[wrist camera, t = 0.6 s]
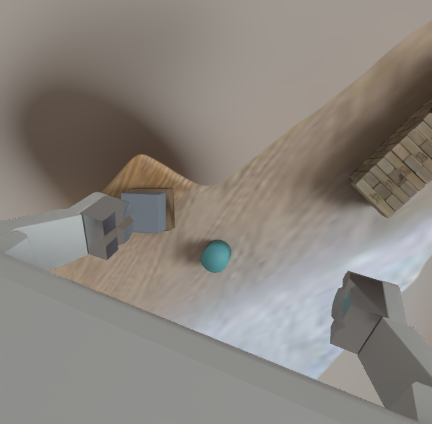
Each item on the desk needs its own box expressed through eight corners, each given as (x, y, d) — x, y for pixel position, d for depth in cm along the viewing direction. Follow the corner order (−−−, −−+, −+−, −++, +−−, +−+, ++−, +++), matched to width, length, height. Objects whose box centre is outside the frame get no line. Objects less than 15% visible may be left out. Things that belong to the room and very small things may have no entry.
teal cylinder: (231, 264, 60) (227, 273, 56) (206, 263, 61) (201, 271, 56) (230, 240, 60) (227, 246, 55) (206, 239, 61) (200, 246, 56)
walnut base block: (175, 226, 62) (168, 230, 58) (138, 226, 63) (130, 229, 59) (174, 187, 60) (167, 189, 57) (136, 187, 62) (127, 189, 58)
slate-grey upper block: (165, 229, 58) (158, 233, 54) (131, 227, 59) (121, 231, 55) (165, 192, 57) (157, 194, 53) (131, 191, 58) (120, 193, 54)
